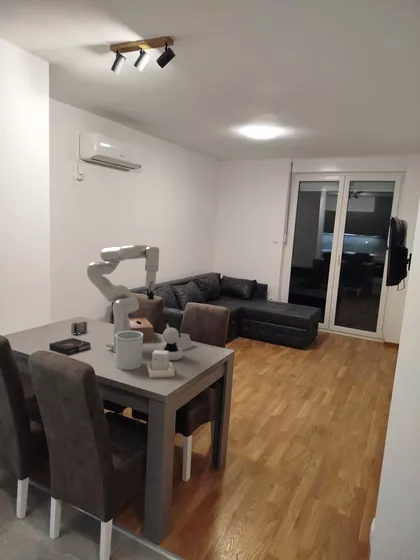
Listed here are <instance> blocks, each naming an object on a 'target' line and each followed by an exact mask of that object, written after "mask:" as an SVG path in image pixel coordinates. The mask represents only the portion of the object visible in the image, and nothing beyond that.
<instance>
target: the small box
mask: <svg viewBox="0 0 420 560" xmlns="http://www.w3.org/2000/svg"><path fill="white" fill-rule="evenodd" d="M151 355H152V356H151V357H152V358H151V363H152V371H160V370H168V369H169V362H170V360H169V351H162V350H161V349H154V351H152V354H151Z"/></svg>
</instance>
